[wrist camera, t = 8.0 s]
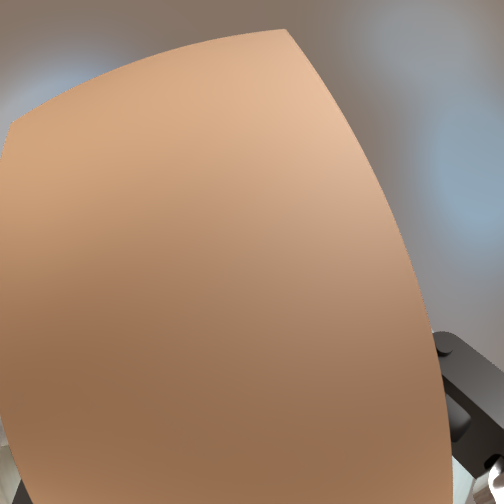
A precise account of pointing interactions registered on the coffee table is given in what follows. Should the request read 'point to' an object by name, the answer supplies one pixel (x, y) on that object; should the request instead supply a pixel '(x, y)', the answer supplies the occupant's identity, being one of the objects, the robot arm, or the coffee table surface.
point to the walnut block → (211, 294)
